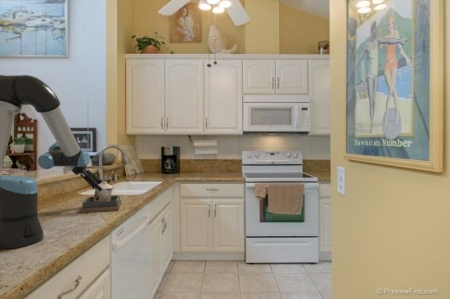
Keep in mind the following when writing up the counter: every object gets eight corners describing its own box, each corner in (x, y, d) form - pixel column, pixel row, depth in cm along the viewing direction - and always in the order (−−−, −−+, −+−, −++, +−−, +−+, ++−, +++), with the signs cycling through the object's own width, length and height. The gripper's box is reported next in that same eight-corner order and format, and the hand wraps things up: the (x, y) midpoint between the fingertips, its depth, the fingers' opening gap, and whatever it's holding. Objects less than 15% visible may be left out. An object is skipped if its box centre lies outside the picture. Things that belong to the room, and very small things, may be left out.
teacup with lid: (90, 199, 158) (94, 179, 157) (107, 199, 164) (110, 180, 163) (96, 206, 149) (100, 185, 148) (114, 206, 154) (117, 185, 154)
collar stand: (118, 210, 149) (118, 201, 149) (80, 213, 144) (80, 203, 144) (121, 203, 168) (121, 194, 168) (88, 205, 163) (88, 196, 163)
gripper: (76, 168, 163) (105, 194, 167) (65, 172, 140) (99, 201, 144) (86, 159, 164) (115, 184, 168) (76, 161, 141) (110, 191, 146)
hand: (107, 192), depth 156 cm, fingers closed on teacup with lid, 11 cm apart
